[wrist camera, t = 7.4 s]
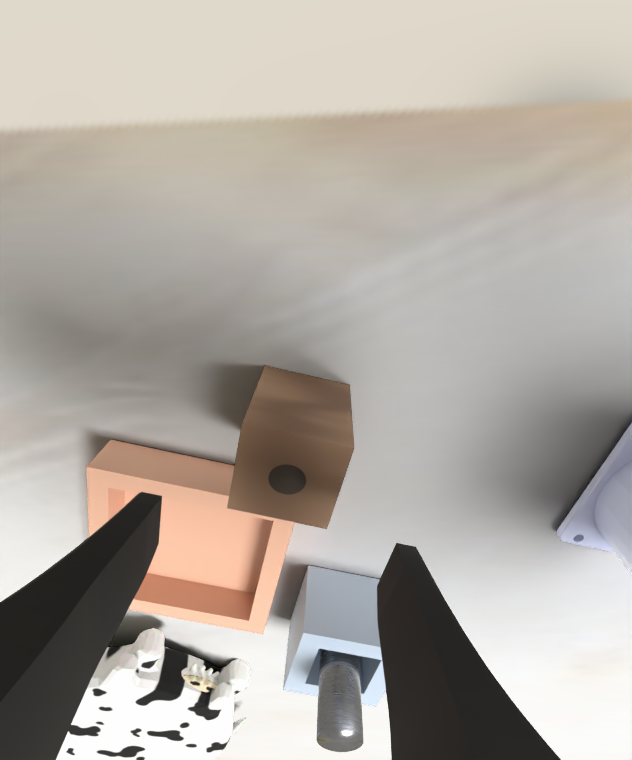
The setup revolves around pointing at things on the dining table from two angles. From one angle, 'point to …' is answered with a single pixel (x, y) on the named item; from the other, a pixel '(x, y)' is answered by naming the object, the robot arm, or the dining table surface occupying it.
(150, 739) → the toy
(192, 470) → the tray
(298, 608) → the slate block
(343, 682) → the pin
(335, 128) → the dining table surface
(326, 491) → the walnut block
